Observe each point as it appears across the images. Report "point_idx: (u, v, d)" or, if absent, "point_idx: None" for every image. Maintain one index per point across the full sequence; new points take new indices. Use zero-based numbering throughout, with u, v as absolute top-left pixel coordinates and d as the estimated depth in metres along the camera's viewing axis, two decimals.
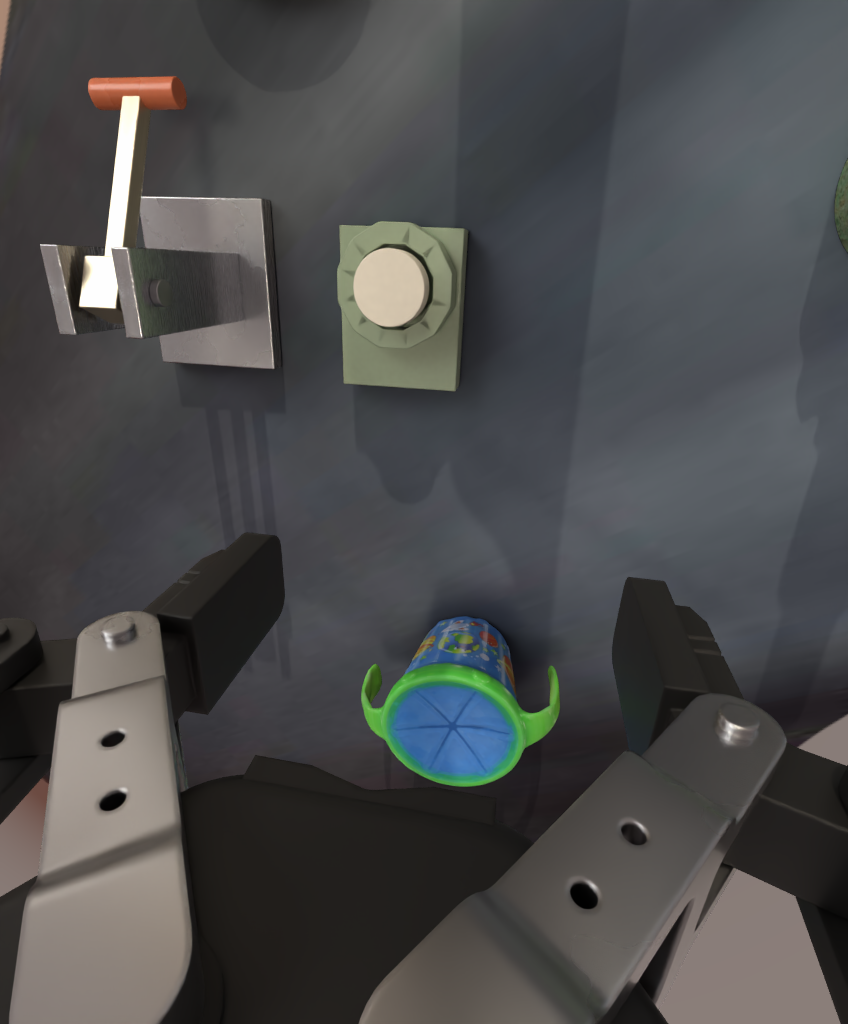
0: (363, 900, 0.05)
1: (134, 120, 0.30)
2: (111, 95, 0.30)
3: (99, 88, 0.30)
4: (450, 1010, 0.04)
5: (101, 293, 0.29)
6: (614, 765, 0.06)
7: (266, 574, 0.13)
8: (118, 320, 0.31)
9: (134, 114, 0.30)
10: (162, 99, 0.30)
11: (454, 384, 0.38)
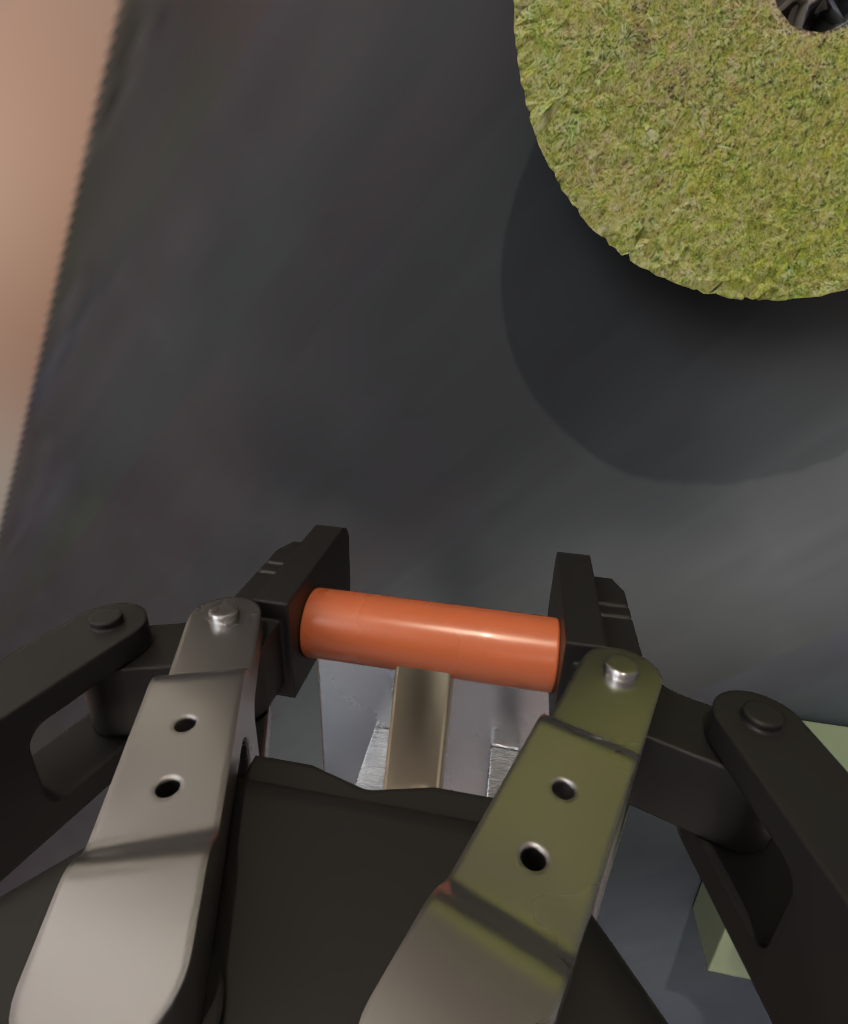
0: (363, 900, 0.05)
1: (436, 742, 0.11)
2: (365, 659, 0.11)
3: (333, 644, 0.11)
4: (450, 1010, 0.04)
5: None
6: (533, 730, 0.07)
7: (338, 565, 0.13)
8: None
9: (437, 725, 0.11)
10: (516, 686, 0.11)
11: None
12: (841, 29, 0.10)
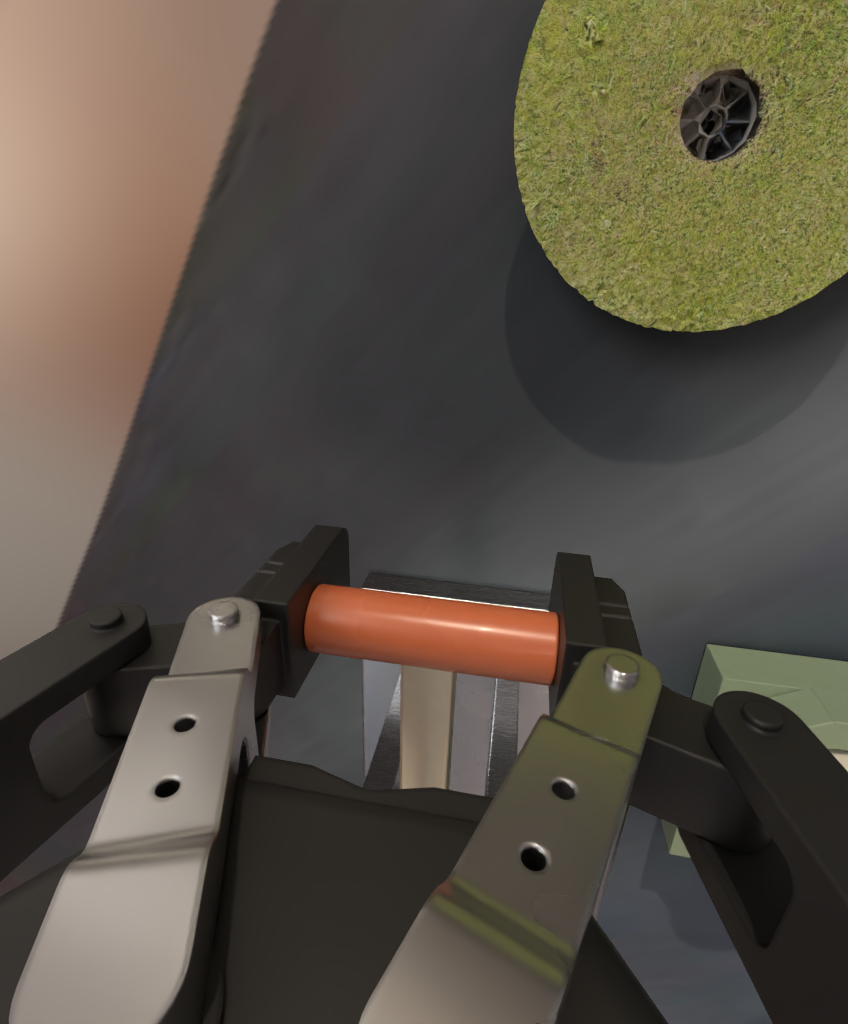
0: (363, 900, 0.05)
1: (442, 720, 0.12)
2: None
3: (338, 651, 0.11)
4: (450, 1010, 0.04)
5: None
6: (533, 730, 0.07)
7: (337, 565, 0.13)
8: None
9: (442, 708, 0.12)
10: None
11: None
12: (725, 160, 0.15)
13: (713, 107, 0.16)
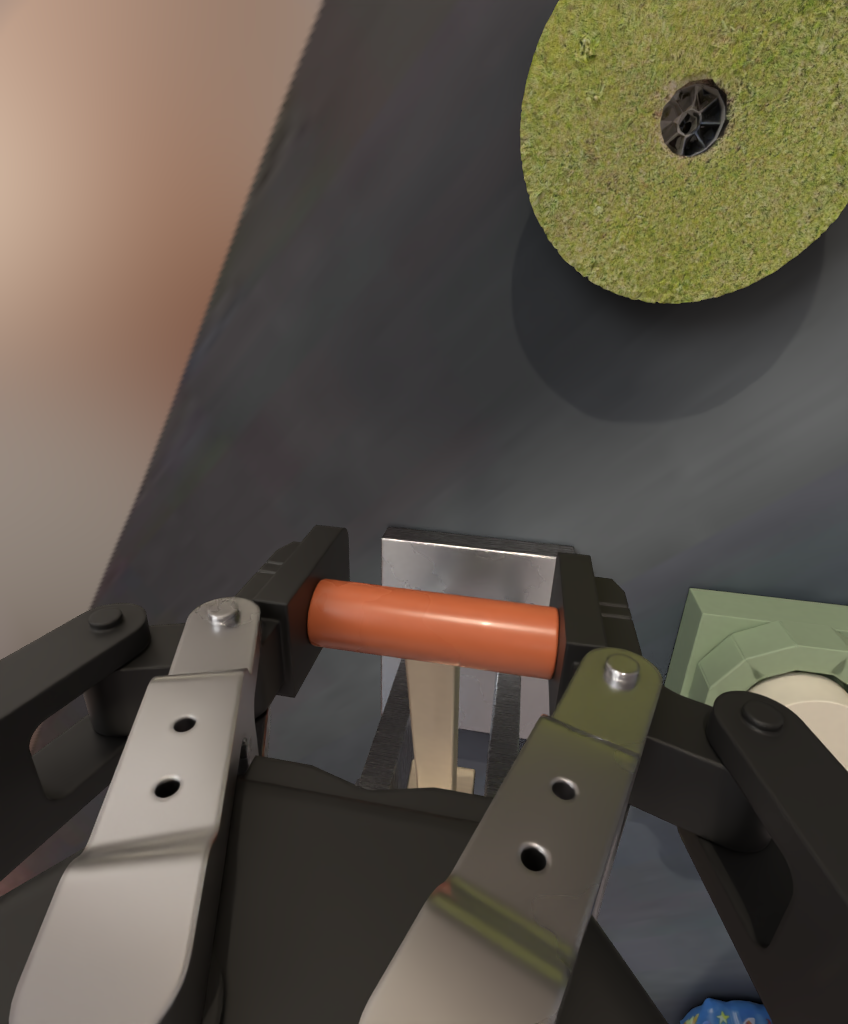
0: (363, 900, 0.05)
1: (447, 696, 0.12)
2: None
3: (343, 649, 0.12)
4: (450, 1010, 0.04)
5: None
6: (534, 731, 0.07)
7: (337, 565, 0.13)
8: None
9: (447, 688, 0.12)
10: None
11: None
12: (699, 156, 0.18)
13: (689, 110, 0.19)
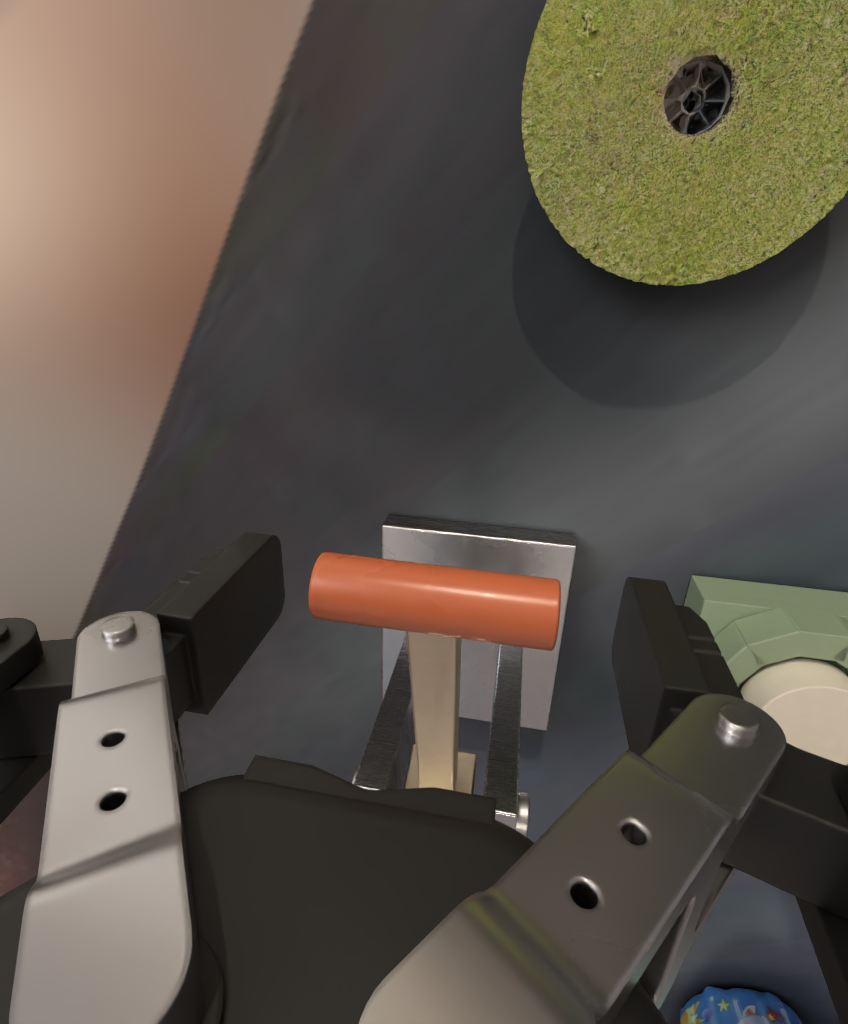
0: (363, 900, 0.05)
1: (449, 671, 0.12)
2: (376, 626, 0.12)
3: (344, 621, 0.12)
4: (450, 1010, 0.04)
5: None
6: (614, 765, 0.06)
7: (265, 574, 0.13)
8: None
9: (448, 663, 0.12)
10: None
11: None
12: (703, 134, 0.18)
13: (693, 88, 0.18)
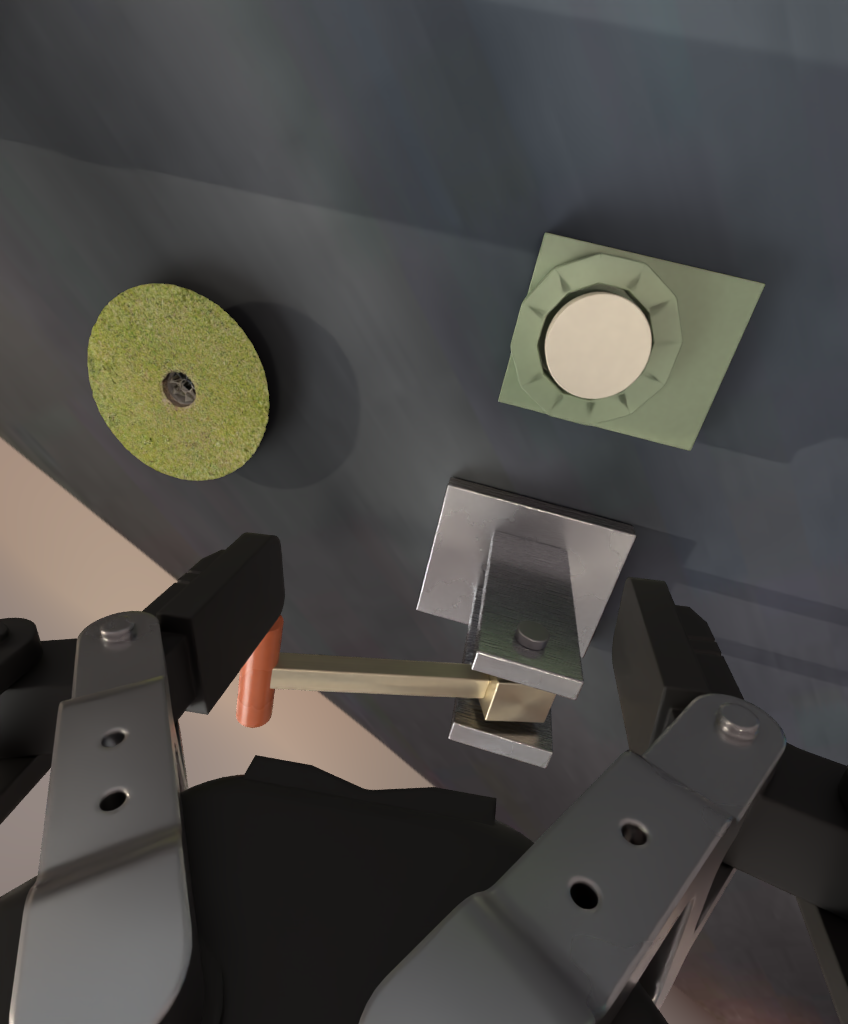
0: (363, 900, 0.05)
1: (306, 673, 0.22)
2: (267, 701, 0.22)
3: (259, 715, 0.22)
4: (450, 1010, 0.04)
5: (536, 701, 0.24)
6: (614, 764, 0.06)
7: (265, 574, 0.13)
8: None
9: (298, 673, 0.22)
10: (278, 641, 0.21)
11: (754, 283, 0.25)
12: (195, 388, 0.32)
13: (181, 385, 0.33)
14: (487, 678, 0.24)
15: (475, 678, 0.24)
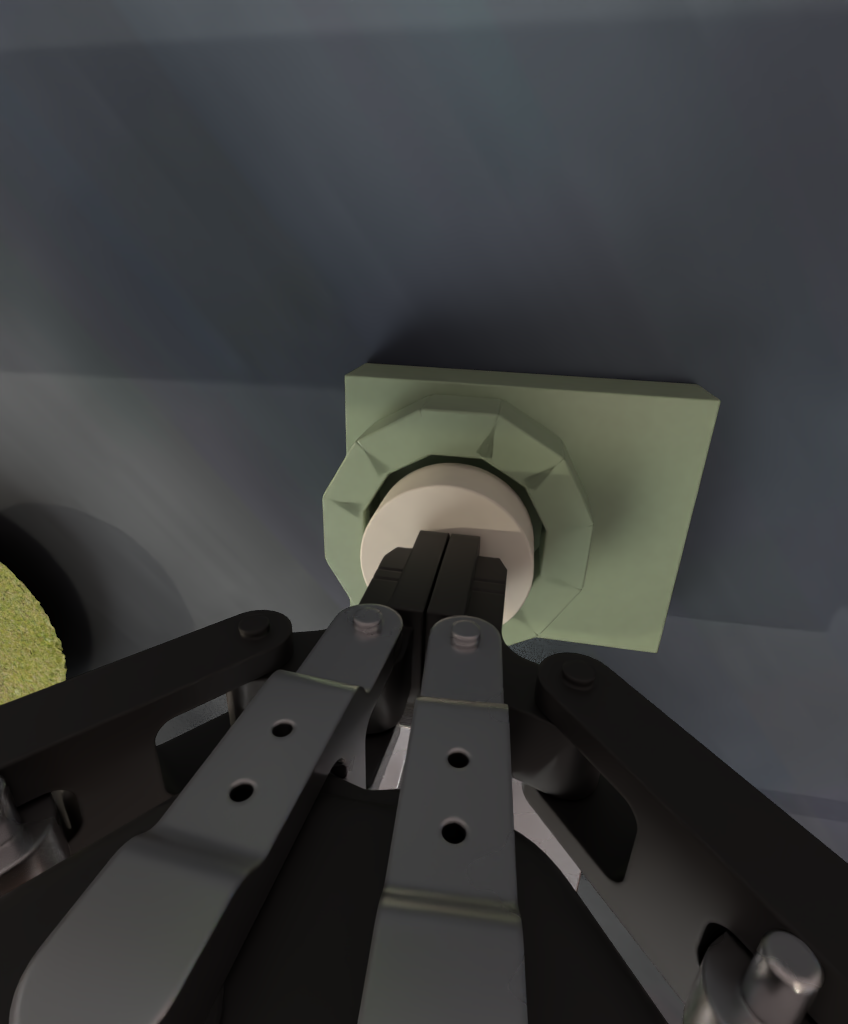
0: (363, 900, 0.05)
1: None
2: None
3: None
4: (450, 1009, 0.04)
5: None
6: (413, 715, 0.07)
7: None
8: None
9: None
10: None
11: (701, 402, 0.14)
12: None
13: None
14: None
15: None
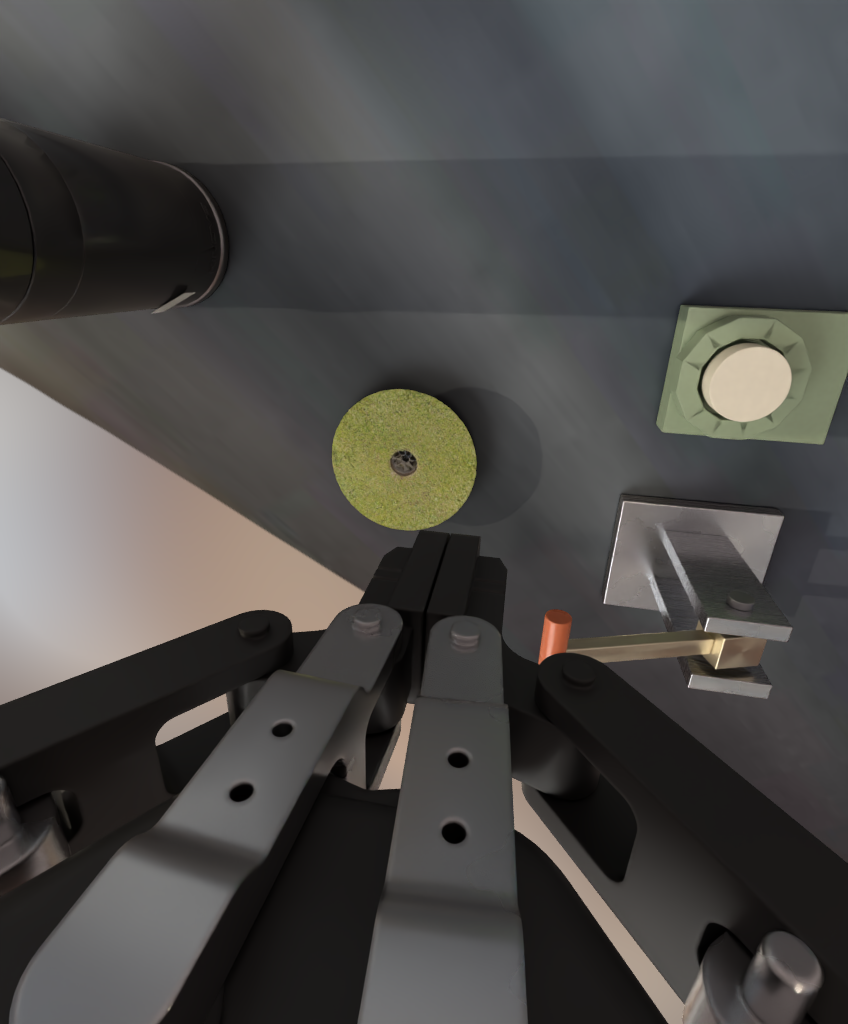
0: (363, 900, 0.05)
1: (588, 651, 0.31)
2: None
3: None
4: (450, 1010, 0.04)
5: (752, 649, 0.32)
6: (413, 715, 0.07)
7: None
8: None
9: (583, 651, 0.31)
10: None
11: None
12: (416, 460, 0.42)
13: (400, 459, 0.43)
14: (711, 638, 0.32)
15: (703, 639, 0.32)
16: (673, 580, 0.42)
